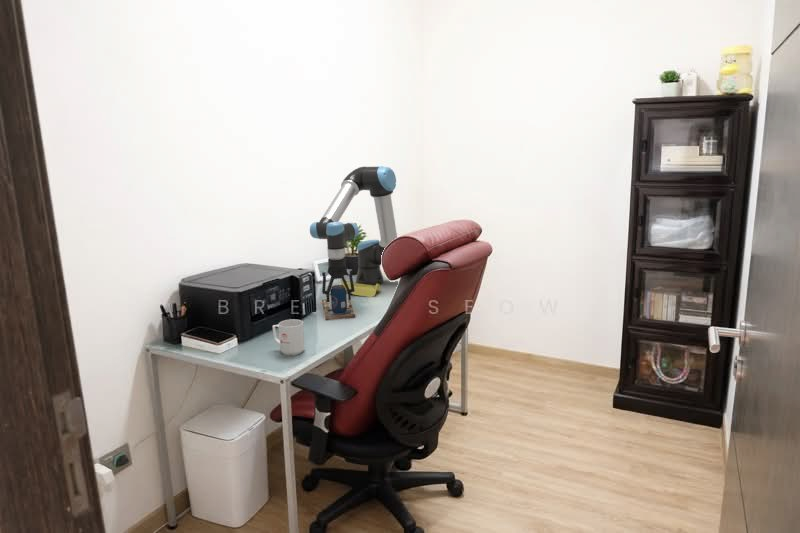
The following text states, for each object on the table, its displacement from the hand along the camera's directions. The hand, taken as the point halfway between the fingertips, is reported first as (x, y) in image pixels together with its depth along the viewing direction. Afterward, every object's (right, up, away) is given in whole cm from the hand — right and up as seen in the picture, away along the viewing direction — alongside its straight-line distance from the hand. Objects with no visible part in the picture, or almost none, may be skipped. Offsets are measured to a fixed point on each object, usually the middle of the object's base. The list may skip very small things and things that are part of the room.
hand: (339, 307), depth 247 cm
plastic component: (+7, +5, +34) cm, 35 cm away
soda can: (0, -2, +1) cm, 2 cm away
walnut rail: (-1, -1, +7) cm, 7 cm away
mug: (-14, -13, -43) cm, 47 cm away
